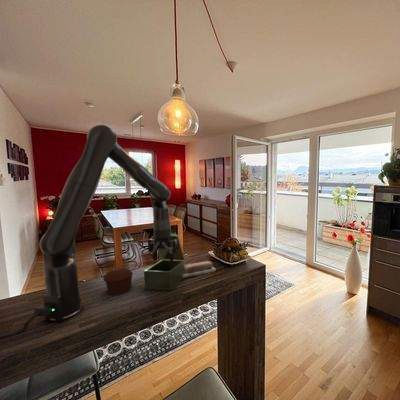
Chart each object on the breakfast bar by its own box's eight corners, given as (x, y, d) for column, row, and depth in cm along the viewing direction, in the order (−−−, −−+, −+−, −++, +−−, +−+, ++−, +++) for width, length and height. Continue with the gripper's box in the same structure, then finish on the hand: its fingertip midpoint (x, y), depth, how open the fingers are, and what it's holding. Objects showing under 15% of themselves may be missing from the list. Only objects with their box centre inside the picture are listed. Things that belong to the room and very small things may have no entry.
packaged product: (182, 269, 116) (178, 263, 124) (182, 278, 116) (178, 272, 124) (216, 263, 126) (209, 258, 134) (216, 271, 126) (209, 266, 135)
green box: (170, 290, 105) (169, 272, 104) (145, 288, 106) (143, 270, 105) (185, 276, 119) (184, 260, 118) (162, 275, 121) (162, 259, 120)
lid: (177, 236, 111) (181, 230, 115) (153, 235, 112) (158, 230, 116) (184, 260, 118) (187, 254, 122) (161, 259, 119) (165, 253, 123)
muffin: (138, 283, 112) (137, 263, 111) (126, 294, 101) (124, 273, 100) (113, 284, 111) (111, 264, 110) (98, 296, 100) (96, 274, 99)
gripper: (143, 229, 106) (145, 262, 108) (171, 229, 104) (173, 263, 106) (153, 225, 114) (154, 257, 115) (180, 226, 112) (181, 258, 113)
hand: (163, 260), depth 111 cm, fingers open, 8 cm apart
